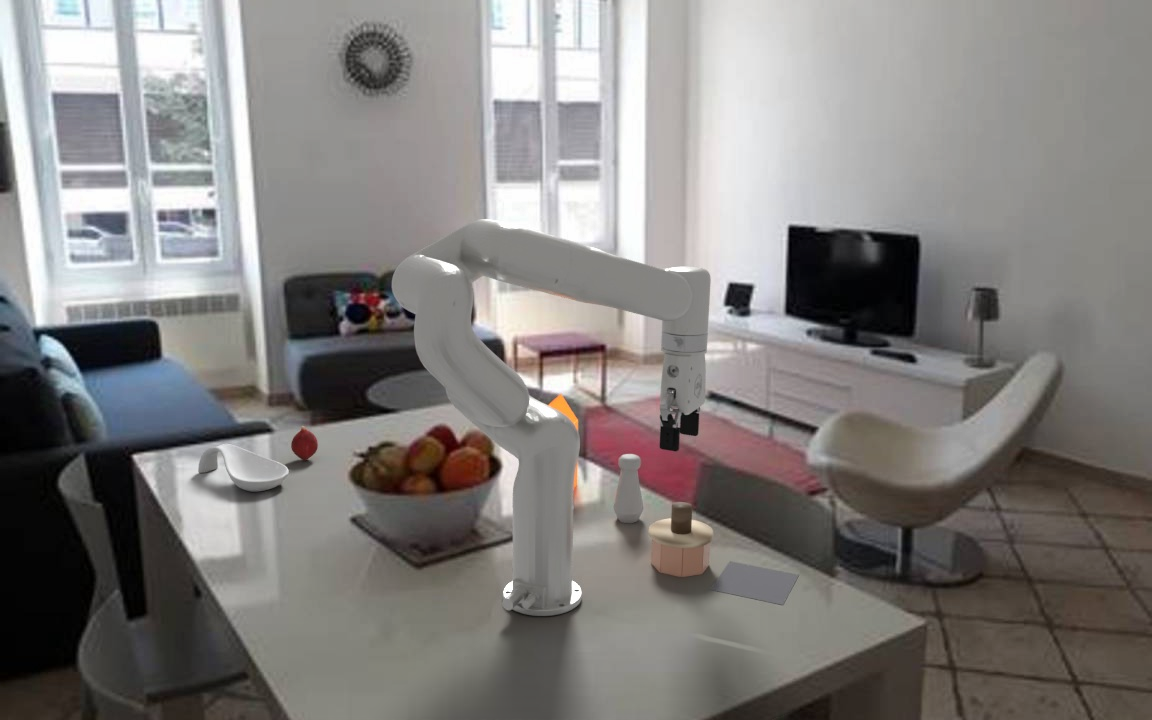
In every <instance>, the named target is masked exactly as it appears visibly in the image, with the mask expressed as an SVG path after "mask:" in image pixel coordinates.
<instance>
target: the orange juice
mask: <svg viewBox="0 0 1152 720" xmlns="http://www.w3.org/2000/svg"><path fill="white" fill-rule="evenodd" d="M548 405H549V406H551V407H553V408H555V409H557V410H558V411H560V412H562V413H563V414H565V415H566V416H567V417H568V418H569V419H570V420H571V421H572V422H573V423H574V425H575V426H576V428H577V431H578V432H579V419H578V418H577V417H576V415H575V413H574V411H572V409H571V407H570V406H569V404H568V403H567V401H566V400H565V398H564V396H563V394H562V393H560V394H559V395H557V397H556V398H554V399H552V401H551V402H550V403H549V404H548ZM578 461H579V459H578V460H577V465H576V470H575V477H574V489H575V488H576V487H577V485H578V465H579V463H578Z"/></svg>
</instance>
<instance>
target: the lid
mask: <svg viewBox="0 0 1152 720" xmlns="http://www.w3.org/2000/svg"><path fill="white" fill-rule="evenodd" d="M670 515H671V516H670V517H669V518H664V519H659V520H656V521H654V522H653V523H651V524H650V525H649V527H648V536H649V538H650V539H651V540H652V539H653V540H654V541H655V542H657V543H660V544H662V545H666V546H670V547H676V548H695V547H700V546H704V545H706V544H708V543H710V544H711V542H712V541H713V539H714V530H713V528H712V527H711V526H710V525H708V524H706V523H704V522H702V521H700V520H697V519H693V505H692V504H691V503H689V502H684V501H676V502H673V503H672V504H671V514H670Z"/></svg>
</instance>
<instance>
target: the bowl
mask: <svg viewBox="0 0 1152 720" xmlns="http://www.w3.org/2000/svg"><path fill="white" fill-rule="evenodd" d="M650 547H651V549H650V550H651V552H650V554H651V555H650V564H651V565H652V566H653V567H654V568H655V569H656V570H657V571H658V572H659V573H661V574H665V575H670V576H675V577H680V578H685V577H690V576H691V577H692V576H698V575H702V574H703V573H704V572H705V571H706V570H707V568H708V567H709V566H710V550H711V542H710V543H708V544H706V545H704V546H700V547H695V548H676V547H670V546H666V545H662V544H660V543H657V542H655V541H654V540H653V539H651V546H650Z"/></svg>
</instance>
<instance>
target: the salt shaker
mask: <svg viewBox="0 0 1152 720" xmlns="http://www.w3.org/2000/svg"><path fill="white" fill-rule="evenodd" d="M617 462H618V467H619V469H620V473H619V479H618V483H617V488H616V492H615V493H616V494H615V498H614V503H613V511H614V513H615V516H616V518H617V520H618V521H620V523H623V524H624V523H626V524H633V523H637V521H639V519H640V517H641V516H642V514H643V512H644V509H645V508H644V502H643V497H642V491H641V486H640V479H639V472H638V470H639V469H640V468H641V466H642V465H641V464H642V460H641V457H640V456H639V455H637V454H634V453H624V454H622V455H621V456H620V457H618V460H617Z"/></svg>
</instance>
